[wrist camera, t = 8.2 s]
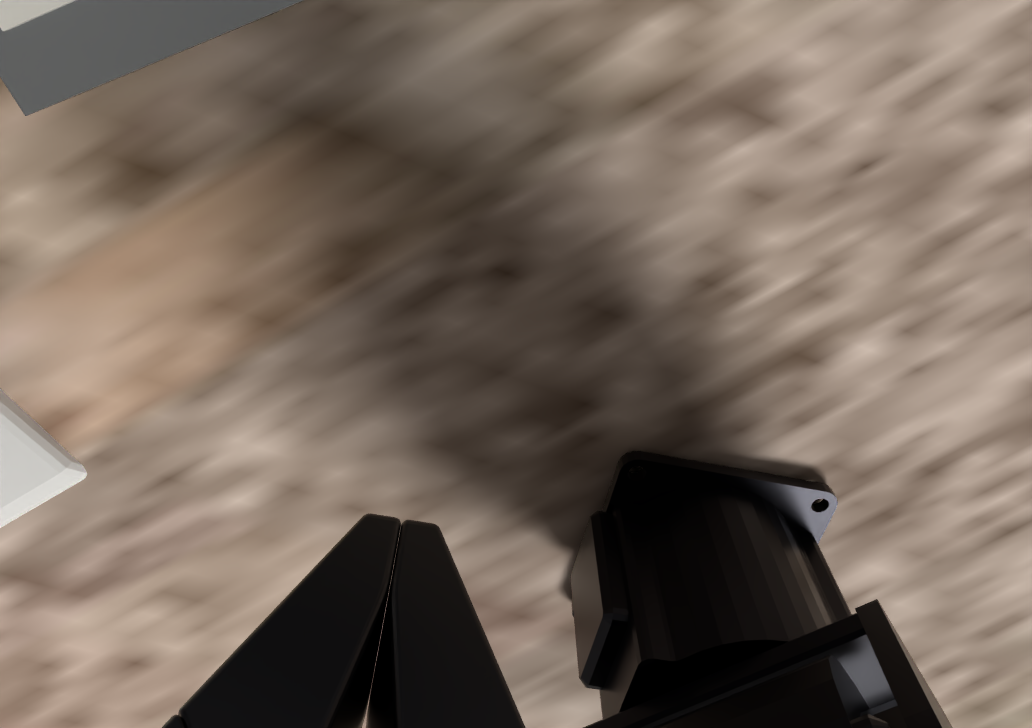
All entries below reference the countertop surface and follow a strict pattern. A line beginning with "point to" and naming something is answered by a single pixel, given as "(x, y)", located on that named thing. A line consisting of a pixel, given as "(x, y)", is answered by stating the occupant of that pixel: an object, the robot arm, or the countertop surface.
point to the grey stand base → (104, 40)
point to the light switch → (30, 463)
